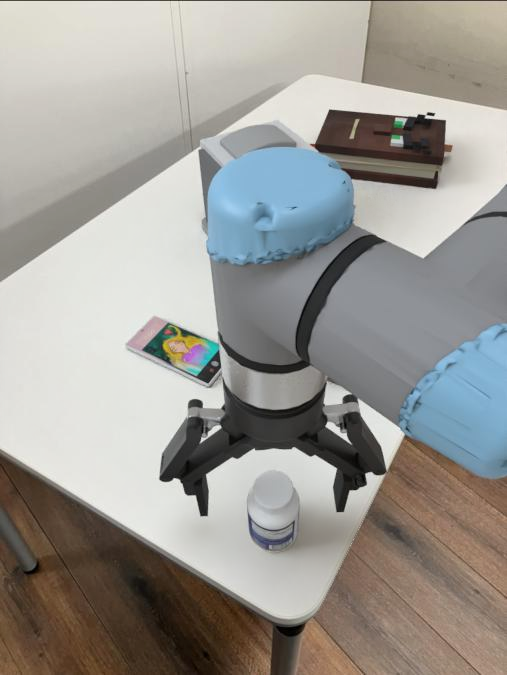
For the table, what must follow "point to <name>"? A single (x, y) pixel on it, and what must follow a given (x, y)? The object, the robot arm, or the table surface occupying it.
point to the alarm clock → (241, 150)
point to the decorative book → (385, 146)
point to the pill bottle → (273, 511)
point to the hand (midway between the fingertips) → (271, 501)
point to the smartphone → (178, 350)
